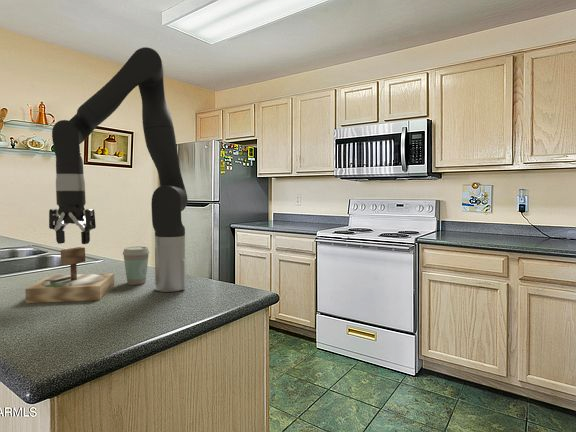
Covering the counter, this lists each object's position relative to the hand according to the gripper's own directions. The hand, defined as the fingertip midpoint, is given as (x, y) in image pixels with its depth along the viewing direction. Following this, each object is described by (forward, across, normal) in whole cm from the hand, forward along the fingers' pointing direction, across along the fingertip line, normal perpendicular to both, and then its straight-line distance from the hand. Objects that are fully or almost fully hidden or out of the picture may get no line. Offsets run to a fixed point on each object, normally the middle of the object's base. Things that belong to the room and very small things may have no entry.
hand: (73, 243), depth 112 cm
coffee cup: (+16, -10, -17) cm, 25 cm away
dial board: (+15, 0, 0) cm, 15 cm away
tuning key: (+11, +1, +2) cm, 11 cm away
